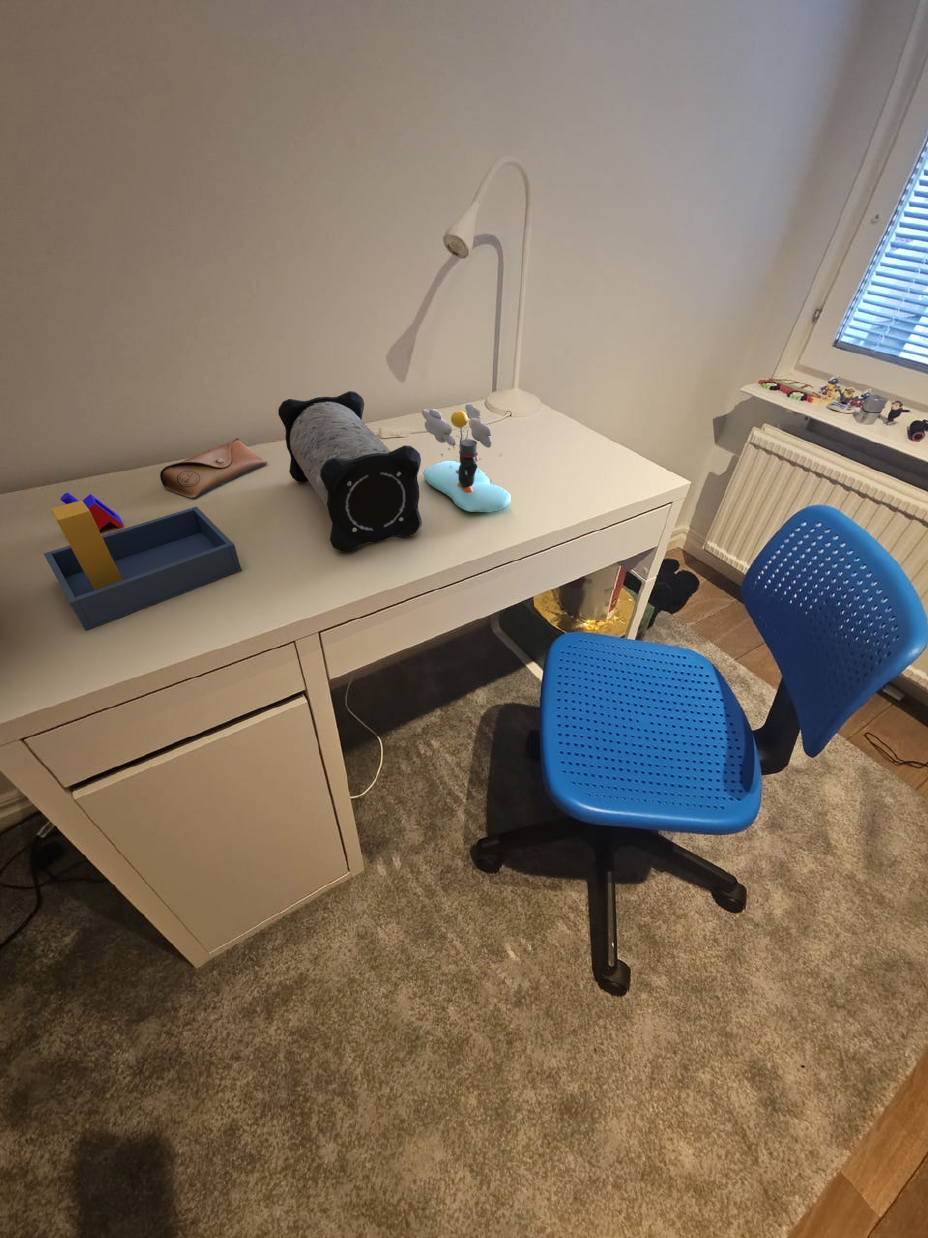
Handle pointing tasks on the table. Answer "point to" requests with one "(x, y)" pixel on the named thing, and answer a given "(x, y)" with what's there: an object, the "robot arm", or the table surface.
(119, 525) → the toy building block
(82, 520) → the wooden stick
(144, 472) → the table surface
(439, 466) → the penguin figurine
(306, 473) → the speaker
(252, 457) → the sunglasses case
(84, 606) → the bin
